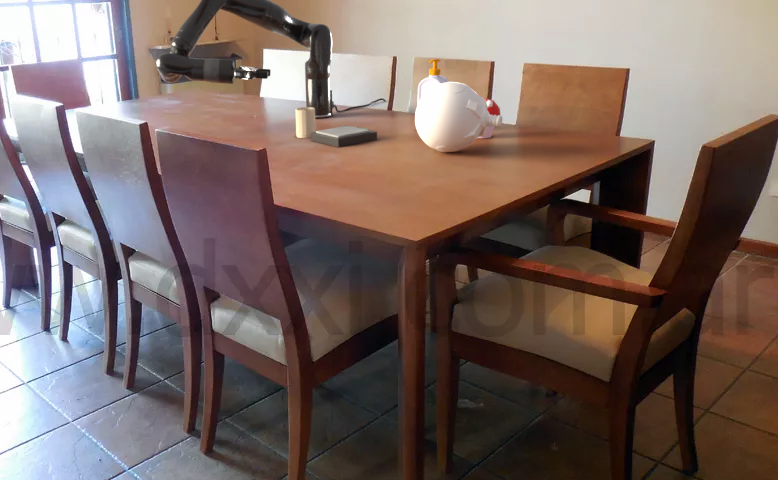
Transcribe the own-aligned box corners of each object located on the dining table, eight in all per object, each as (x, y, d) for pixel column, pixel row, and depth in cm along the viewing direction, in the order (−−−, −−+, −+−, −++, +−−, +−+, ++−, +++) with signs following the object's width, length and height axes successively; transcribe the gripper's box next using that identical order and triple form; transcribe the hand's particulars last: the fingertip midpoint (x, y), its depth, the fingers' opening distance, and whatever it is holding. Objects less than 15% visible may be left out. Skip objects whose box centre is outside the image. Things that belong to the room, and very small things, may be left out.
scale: (349, 133, 229) (349, 124, 228) (377, 139, 219) (377, 129, 218) (311, 140, 221) (311, 130, 219) (338, 147, 210) (338, 137, 209)
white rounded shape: (429, 142, 213) (432, 76, 205) (508, 149, 200) (515, 80, 192) (402, 155, 198) (404, 84, 190) (486, 163, 185) (492, 89, 177)
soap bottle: (415, 131, 230) (417, 59, 220) (424, 127, 235) (427, 57, 225) (439, 133, 225) (442, 60, 215) (448, 129, 230) (452, 58, 221)
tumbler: (307, 133, 232) (307, 106, 228) (319, 136, 227) (318, 108, 223) (292, 136, 228) (291, 108, 224) (303, 138, 223) (302, 111, 220)
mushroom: (461, 133, 224) (463, 95, 219) (494, 132, 224) (497, 94, 219) (468, 140, 214) (470, 100, 209) (503, 138, 214) (506, 99, 209)
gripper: (215, 60, 212) (267, 63, 212) (222, 57, 226) (271, 60, 225) (215, 85, 215) (266, 88, 215) (222, 81, 228) (270, 83, 228)
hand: (269, 74), depth 220 cm, fingers open, 8 cm apart
